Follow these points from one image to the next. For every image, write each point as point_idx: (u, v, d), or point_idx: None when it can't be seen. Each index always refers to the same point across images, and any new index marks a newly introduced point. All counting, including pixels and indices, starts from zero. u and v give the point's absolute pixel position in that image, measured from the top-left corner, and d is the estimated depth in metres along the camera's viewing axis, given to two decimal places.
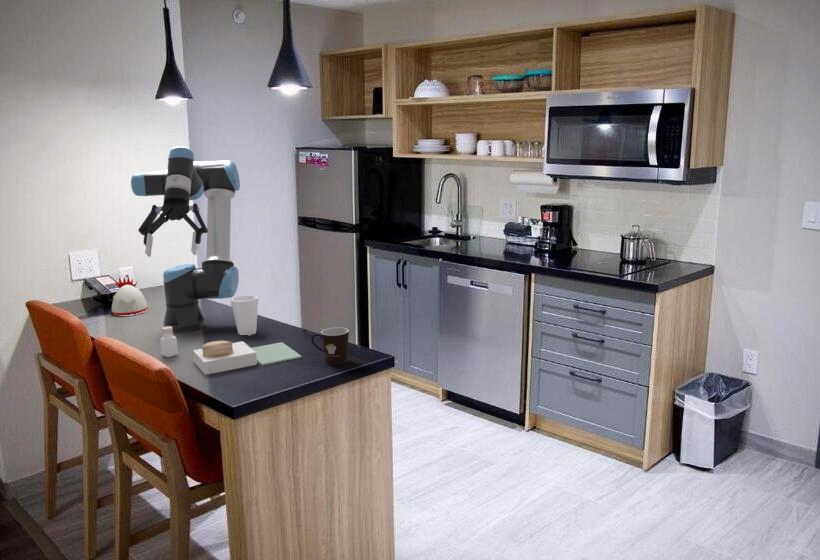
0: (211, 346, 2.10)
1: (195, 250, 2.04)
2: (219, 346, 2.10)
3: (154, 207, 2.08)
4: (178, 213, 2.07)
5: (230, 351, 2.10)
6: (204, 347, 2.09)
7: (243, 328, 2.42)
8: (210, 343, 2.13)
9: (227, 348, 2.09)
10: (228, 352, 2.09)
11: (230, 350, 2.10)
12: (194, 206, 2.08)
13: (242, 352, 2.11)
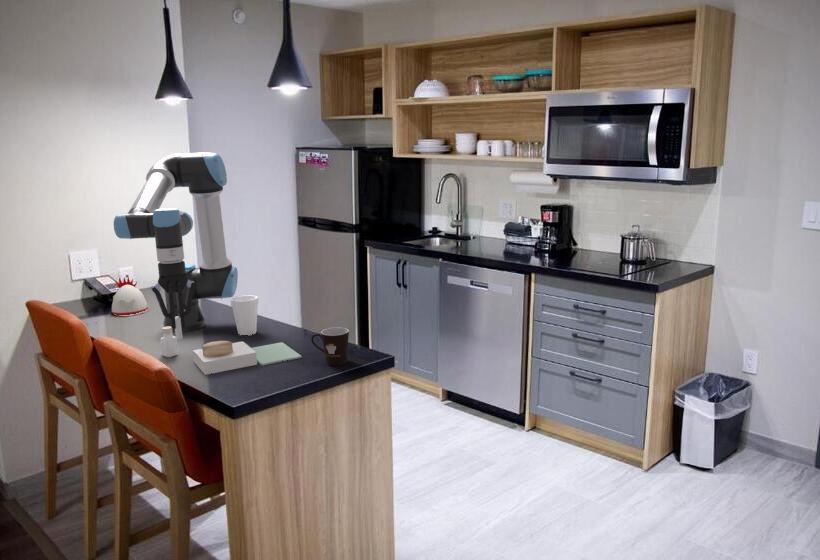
0: (211, 346, 2.10)
1: None
2: (219, 346, 2.10)
3: (155, 290, 1.98)
4: None
5: (230, 351, 2.10)
6: (204, 347, 2.09)
7: (243, 328, 2.42)
8: (210, 343, 2.13)
9: (227, 348, 2.09)
10: (228, 352, 2.09)
11: (230, 350, 2.10)
12: (192, 285, 2.03)
13: (242, 352, 2.11)
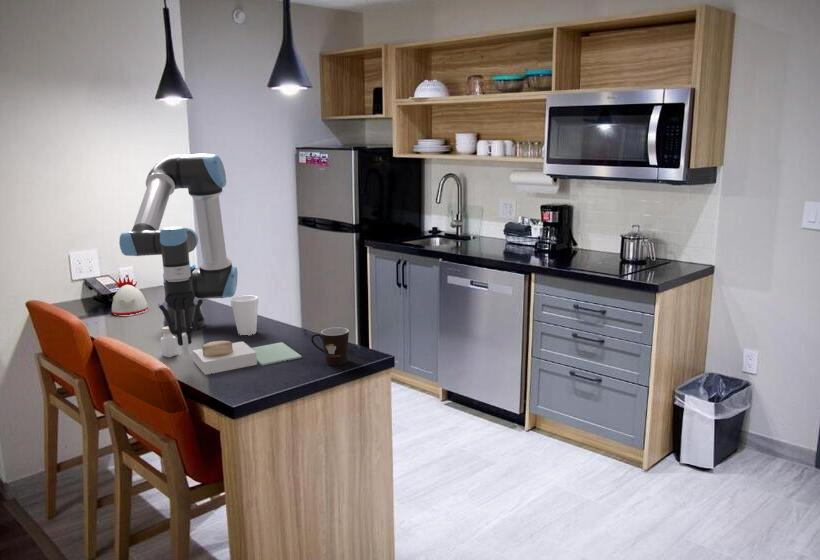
0: (211, 346, 2.10)
1: None
2: (219, 346, 2.10)
3: (162, 307, 2.00)
4: None
5: (230, 351, 2.10)
6: (204, 347, 2.09)
7: (243, 328, 2.42)
8: (210, 343, 2.13)
9: (227, 348, 2.09)
10: (228, 352, 2.09)
11: (230, 350, 2.10)
12: (199, 302, 2.05)
13: (242, 352, 2.11)
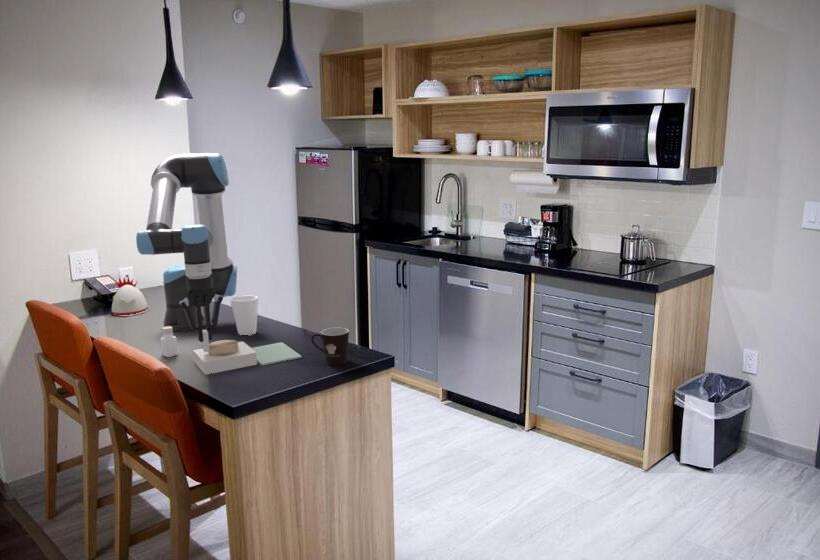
0: (217, 345, 2.11)
1: None
2: (224, 345, 2.11)
3: (184, 304, 2.03)
4: None
5: (235, 350, 2.11)
6: (210, 346, 2.10)
7: (243, 328, 2.42)
8: (216, 342, 2.14)
9: (232, 347, 2.10)
10: (233, 351, 2.10)
11: (235, 349, 2.11)
12: (219, 299, 2.08)
13: (242, 352, 2.11)
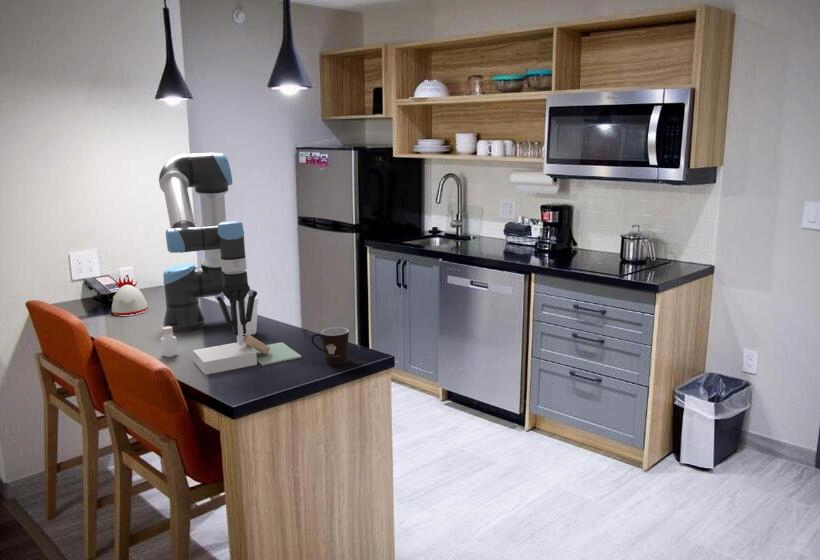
0: (254, 338, 2.16)
1: None
2: (260, 342, 2.17)
3: (220, 299, 2.08)
4: None
5: (266, 353, 2.16)
6: (248, 335, 2.15)
7: None
8: (251, 336, 2.19)
9: (267, 348, 2.15)
10: (265, 352, 2.15)
11: (267, 352, 2.17)
12: (254, 294, 2.13)
13: (242, 352, 2.11)
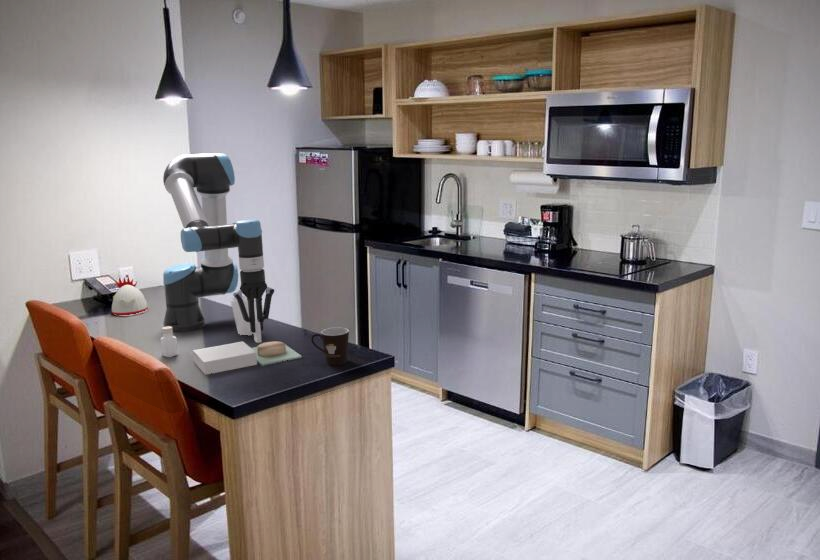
0: (266, 347, 2.19)
1: None
2: (273, 346, 2.19)
3: (238, 296, 2.11)
4: None
5: (284, 351, 2.19)
6: (259, 348, 2.18)
7: (243, 328, 2.42)
8: (264, 344, 2.22)
9: (281, 348, 2.18)
10: (282, 352, 2.19)
11: (284, 350, 2.19)
12: (271, 291, 2.16)
13: (242, 352, 2.11)
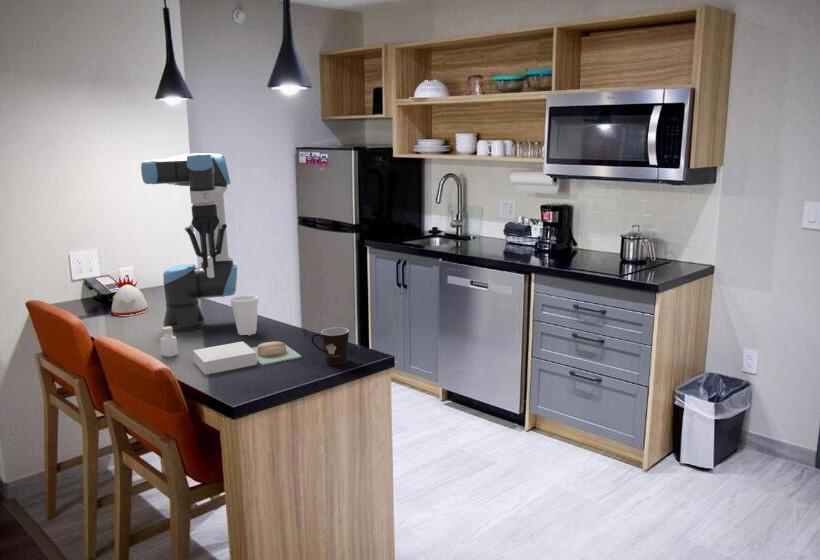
0: (266, 347, 2.19)
1: None
2: (273, 346, 2.19)
3: (190, 230, 2.10)
4: None
5: (284, 351, 2.19)
6: (259, 348, 2.18)
7: (243, 328, 2.42)
8: (264, 344, 2.22)
9: (281, 348, 2.18)
10: (282, 352, 2.18)
11: (284, 350, 2.19)
12: (223, 227, 2.16)
13: (242, 352, 2.11)
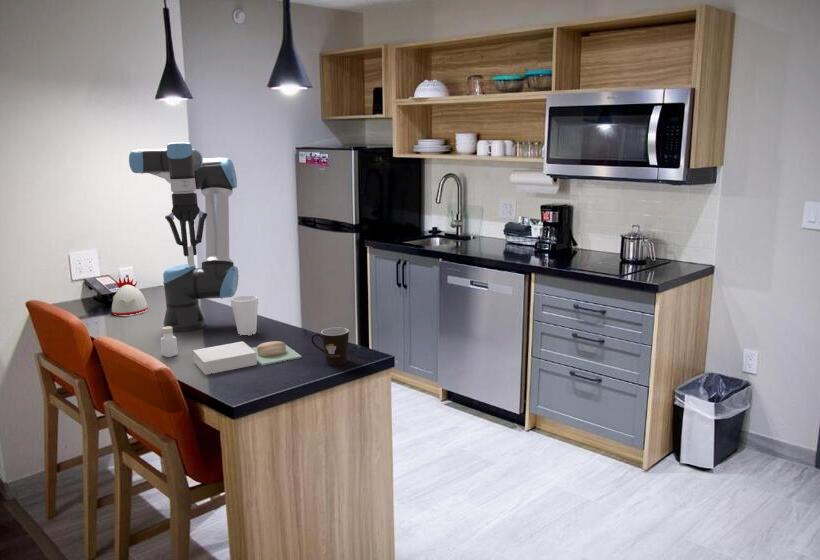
0: (265, 347, 2.19)
1: None
2: (273, 346, 2.19)
3: (169, 218, 2.12)
4: None
5: (283, 351, 2.19)
6: (259, 348, 2.18)
7: (243, 328, 2.42)
8: (264, 344, 2.22)
9: (281, 348, 2.18)
10: (282, 352, 2.18)
11: (283, 350, 2.19)
12: (204, 215, 2.17)
13: (242, 352, 2.11)
